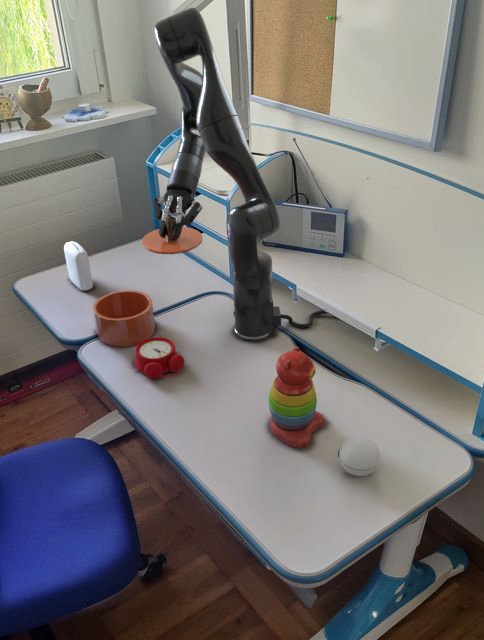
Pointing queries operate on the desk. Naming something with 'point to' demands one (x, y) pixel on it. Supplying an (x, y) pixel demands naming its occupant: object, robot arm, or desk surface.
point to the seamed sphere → (359, 455)
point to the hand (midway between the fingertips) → (168, 237)
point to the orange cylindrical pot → (124, 318)
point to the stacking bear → (294, 400)
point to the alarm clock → (157, 357)
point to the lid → (168, 244)
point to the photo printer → (78, 265)
